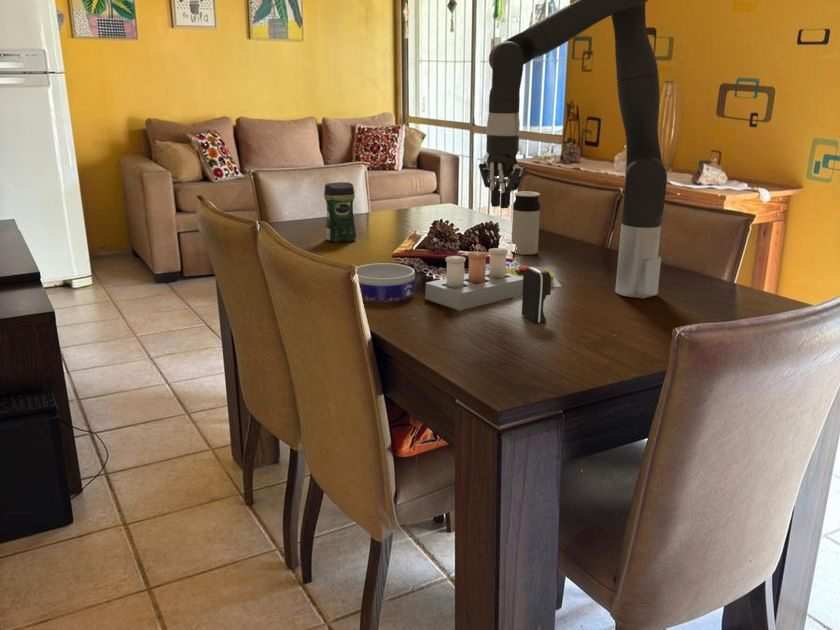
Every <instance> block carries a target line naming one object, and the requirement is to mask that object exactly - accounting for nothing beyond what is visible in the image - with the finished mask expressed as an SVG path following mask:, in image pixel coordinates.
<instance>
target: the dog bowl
mask: <svg viewBox="0 0 840 630" xmlns="http://www.w3.org/2000/svg"><path fill="white" fill-rule="evenodd" d="M356 267H357V268H358V278H359V284H360V288H361V292H362V297H363V300H362V301H364V300H365V302H370V301H382V302H381V303H385V302H384V301H396V302H400V301H399V300H402V301H405V300H404V299H406V300H408V299H407V298H409V299H410V297H411V298H412V297H413V296H414V295H415V282H416V281H415V279H416V271H415V269H414V268H412V267H411V266H408V265H405V264H404V265H403V264H400V263H399V264H398V263H388V262H386V263H385V262H384V263H383V262H380V263H369V264H363V265H359V266H356Z"/></svg>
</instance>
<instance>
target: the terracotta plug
mask: <svg viewBox="0 0 840 630" xmlns="http://www.w3.org/2000/svg"><path fill="white" fill-rule="evenodd" d="M467 258H468V274H469V275H468V282H470V283H473V284H480V283H485V270H486V264H487V261H486V260H487V258H488V253H487V252H483V251H473V252H468V253H467Z"/></svg>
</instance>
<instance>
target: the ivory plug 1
mask: <svg viewBox="0 0 840 630" xmlns="http://www.w3.org/2000/svg"><path fill="white" fill-rule="evenodd" d="M466 259H467V258H466V257H464V256H459V255H450V256H447V257H445V262H446V278H447V287H449V288H452V289H458V288H462V287H464V275H465V263H466Z"/></svg>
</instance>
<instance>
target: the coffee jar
mask: <svg viewBox="0 0 840 630" xmlns="http://www.w3.org/2000/svg"><path fill="white" fill-rule="evenodd" d="M355 195H356V194H355V188H354V184H353V183H351V182H347V181H346V182H343V181H341V182H340V181H339V182H338V181H337V182H329V183H325V185H324V193H323V197H324V200H325V202H326V220H325V221H326V223H325V239H326V241H327V240H328V242H331V241H333V242H332V243H339V242H338V241H348V242H353V241H355V240H356V239H357V231H356V226H355V217H354V199H355V198H356V197H355ZM352 240H353V241H352ZM335 241H337V242H335Z"/></svg>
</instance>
